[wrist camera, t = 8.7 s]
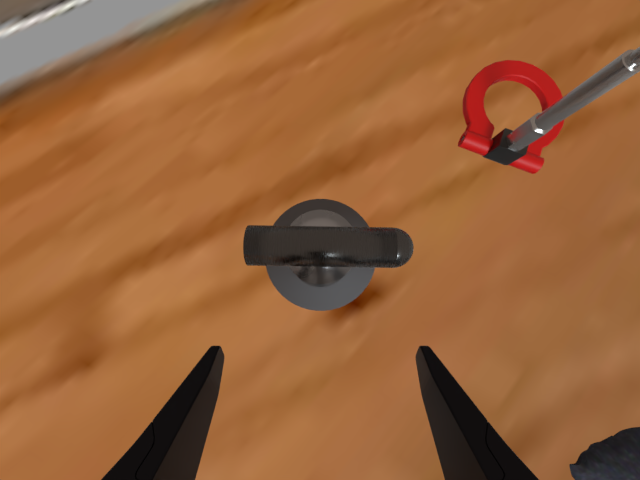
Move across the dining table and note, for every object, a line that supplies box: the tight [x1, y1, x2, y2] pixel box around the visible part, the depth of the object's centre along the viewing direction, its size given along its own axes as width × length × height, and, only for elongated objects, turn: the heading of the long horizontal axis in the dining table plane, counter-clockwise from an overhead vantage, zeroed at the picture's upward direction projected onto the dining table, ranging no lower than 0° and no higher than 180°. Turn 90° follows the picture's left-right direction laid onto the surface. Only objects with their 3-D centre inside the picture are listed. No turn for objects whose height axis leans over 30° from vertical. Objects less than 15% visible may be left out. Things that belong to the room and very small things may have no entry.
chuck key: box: [243, 210, 414, 287], centre depth 16 cm, size 4×6×14 cm
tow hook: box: [458, 47, 640, 174], centre depth 19 cm, size 8×13×9 cm
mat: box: [266, 199, 375, 311], centre depth 23 cm, size 9×9×1 cm
